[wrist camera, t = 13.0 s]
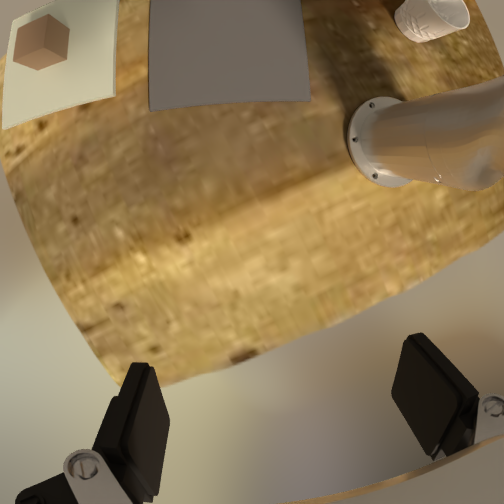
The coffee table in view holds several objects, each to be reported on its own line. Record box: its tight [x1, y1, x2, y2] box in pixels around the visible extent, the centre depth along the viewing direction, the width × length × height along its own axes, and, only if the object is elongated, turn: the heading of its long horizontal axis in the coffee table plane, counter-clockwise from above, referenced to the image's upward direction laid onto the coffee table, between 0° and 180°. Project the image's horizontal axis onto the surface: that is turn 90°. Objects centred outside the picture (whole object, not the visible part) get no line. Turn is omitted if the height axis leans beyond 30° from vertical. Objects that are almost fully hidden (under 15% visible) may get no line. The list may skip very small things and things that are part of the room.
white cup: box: [394, 0, 470, 43], centre depth 27 cm, size 8×8×10 cm
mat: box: [149, 0, 311, 112], centre depth 31 cm, size 20×20×1 cm
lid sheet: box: [2, 0, 120, 130], centre depth 20 cm, size 15×15×6 cm
